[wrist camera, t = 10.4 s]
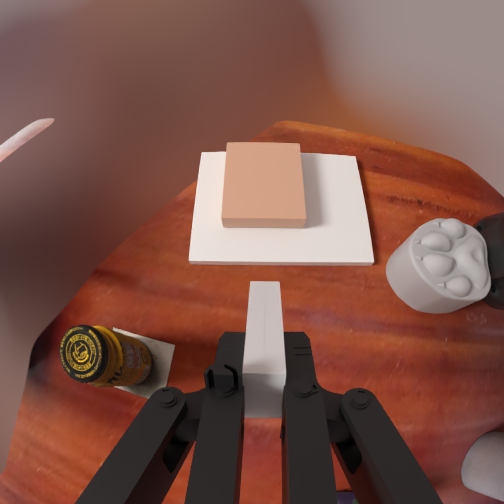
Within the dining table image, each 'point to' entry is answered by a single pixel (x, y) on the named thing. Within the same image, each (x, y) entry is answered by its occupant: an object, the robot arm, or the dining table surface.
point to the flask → (346, 497)
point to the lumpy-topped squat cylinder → (440, 267)
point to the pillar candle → (485, 466)
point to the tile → (263, 186)
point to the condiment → (116, 359)
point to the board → (287, 239)
